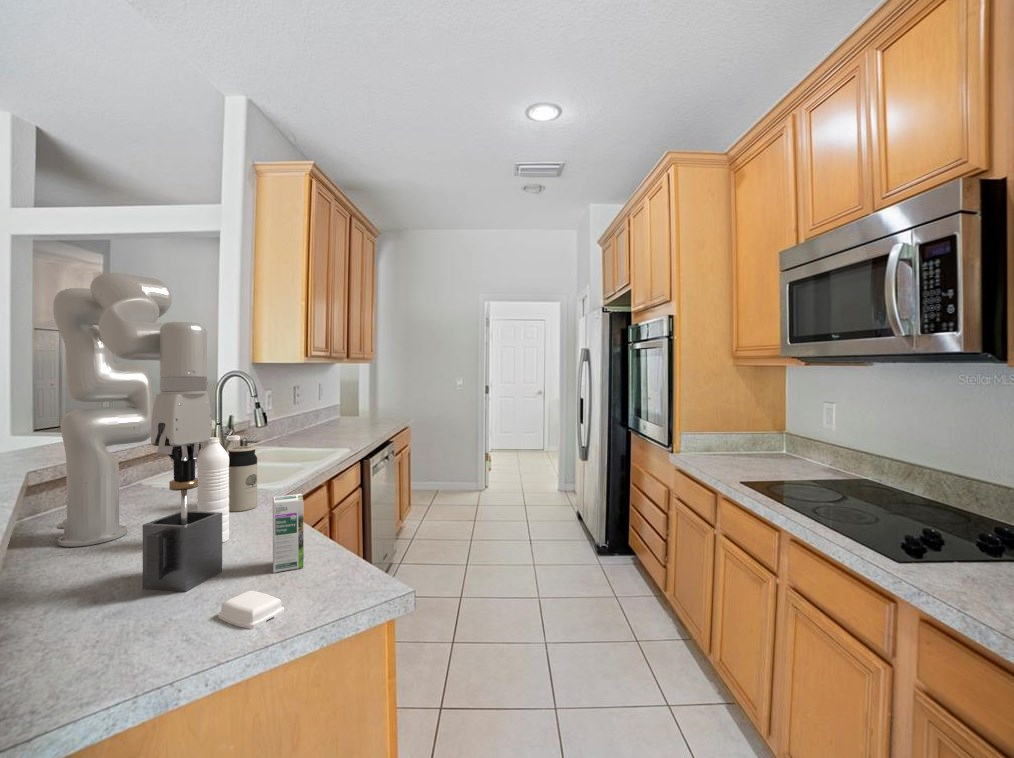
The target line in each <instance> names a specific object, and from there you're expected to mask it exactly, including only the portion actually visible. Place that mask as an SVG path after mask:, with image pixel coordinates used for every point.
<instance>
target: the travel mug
mask: <svg viewBox="0 0 1014 758" xmlns="http://www.w3.org/2000/svg"><path fill="white" fill-rule="evenodd" d="M256 450H257V447H256V446H253V445H242V446H233V447H229V448H227V451H228V455H229V512H234V513H235V512H236V513H238V512H247V511H250V510H253V509H255V508H256V507H257V506H258V457H257V454H256Z"/></svg>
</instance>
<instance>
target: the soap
mask: <svg viewBox="0 0 1014 758" xmlns="http://www.w3.org/2000/svg"><path fill="white" fill-rule="evenodd" d="M284 612H285V607H284V606H282V600H281V599H280V598H277V597H275V596H272V595H270V594H267V593H264V592H259V591H256V590H248V591H245V592H243V593H241V594H238V595H236V596H235V597H232V598H230V599H227V600H225V601H224V602H223V603H222V604H221V610H220V611H219V612H218V615H217V616H218V619H220V620H222V621H224V622H226V623H229V624H231V625H233V626H237V627H240V628H244V629H248V630H254V629H256V628H257V627H260V626H262V625H264V624H266V623H267V621H269V620H270V619H272V618H273V619H275V618H277V617H279V616H280V615H281V614H284Z"/></svg>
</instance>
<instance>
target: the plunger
mask: <svg viewBox="0 0 1014 758" xmlns="http://www.w3.org/2000/svg"><path fill="white" fill-rule="evenodd" d="M197 487H198V478H197V477H195V479H194V480H190V481H188V482H182V481H174V479H172V480H170V481H169V490H170V491H179V492H180V511H181V525H185V526H186V525H187V511H188V490H192V489H197Z"/></svg>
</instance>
